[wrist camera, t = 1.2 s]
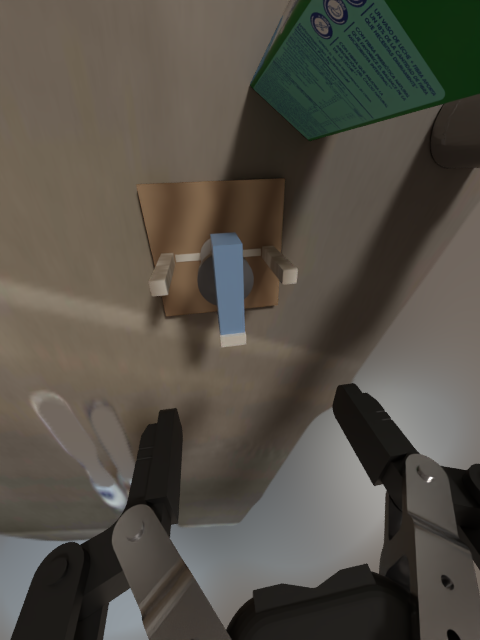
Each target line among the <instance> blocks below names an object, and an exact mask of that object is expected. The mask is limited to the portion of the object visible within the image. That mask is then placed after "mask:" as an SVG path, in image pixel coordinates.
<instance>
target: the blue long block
mask: <svg viewBox="0 0 480 640" xmlns="http://www.w3.org/2000/svg"><path fill="white" fill-rule="evenodd" d="M210 237H211V248H212V253H211V254H209V255H208V256H206V257H205V258H204V259H203V261H202V262H201V264H200V266H199V269H198V275H197V282H198V288H199V291H200V293H201V295H202V296H203V297H204V298H205V299H206V300H207V301H208V302H210V303H211V304H213V305H216V306H217V312H218V323H219V330H220V338H221V347H228V346H236V345H245V344H246V333H245V322H244V299H245V298H246V297H247V296H248V295H249V293H250V292H251V290H252V287H253V283H254V277H253V272H252V269H251V267H250V266H249V264H248V262H247V261H246V259H245V258H244V257H243V244H242V242H241V241H240V239H239V237H238V236H237V234H236V233H235V232H233V233H217V234H210Z"/></svg>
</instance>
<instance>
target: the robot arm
mask: <svg viewBox="0 0 480 640" xmlns="http://www.w3.org/2000/svg"><path fill="white" fill-rule="evenodd" d="M431 153H432V155H433V158H434V160H435V161H436V163H437V164H439V165H440V166H442V167H445V168H480V94H477V95H474V96H470V97H466V98H463V99H459V100H456V101H452V102H448V103H445V104H444V105H443V107H442V109H441V111H440V112H439V114H438V116H437V119H436V121H435V124H434V126H433V131H432V135H431ZM333 412H334V415H335V418H336V419H337V421H338V423H339V424H340V426H341V428H342V430H343V432H344V434H345V435H346V437H347V439H348V441H349V442H350V444H351V446H352V448H353V450H354V451H355V453H356V455H357V457H358V458H359V460H360V462H361V464H362V466H363V467H364V469H365V471H366V473H367V474H368V476H369V478H370V480H371V482H372V483H373V485H374V486H376V485H381V484H383V485H384V486H385V488H386V490H387V491H386V497H385V501H386V502H385V531H384V545H383V549H382V552H381V558H380V566H379V574H378V573H375V572H371V571H370V568H369V566H368V564H363V565H359V566H355V567H350V568H346V569H342V570H340V571H338V572H337V573H336V574H334V575H333V576H331V577H330V578H329V579H327V580H326V581H325V582H323V583H322V584H321V585H319V586H318V587H316V588H308V587H302V586H295V585H288V584H278V585H274V586H270V587H265V588H261V589H257V590H253V598H251V599H250V600H248V601H247V602H246V603H245V604H244V605H243V606H242V607H241V608H240V609H239V610H238V611H237V613H236V614H235V615H234V617H233V618H232V620H231V622H230V623H229V625H228V627H227V629H225V628H224V626H223V624H222V623H221V621H220V619H219V618H218V616H217V615H216V613H215V611H214V610H213V608H212V606H211V605H210V603H209V601H208V600H207V598H206V596H205V595H204V593H203V591H202V590H201V588H200V586H199V585H198V583H197V581H196V580H195V578H194V576H193V575H192V573H191V572H190V570H189V569H188V567H187V566H186V564H185V563H184V561H183V559H182V558H181V556H180V555H179V553H178V551H177V549H176V548H175V546H174V545H173V543H172V541H171V540H170V529H171V525H172V524H178V516H179V498H180V479H181V461H182V442H183V435H182V427H181V423H180V419H179V415H178V411H177V408H173V409H166V410H160V412H159V416H158V422H157V423H155V424H149V425H148V426H147V428H146V429H145V431H144V433H143V434H142V436H141V440H140V445H139V451H138V454H137V461H136V464H135V469H134V474H133V478H132V483H131V488H130V492H129V497H128V501H127V505H126V507H125V509H124V511H123V513H122V515H121V516H120V518H119V519H118V520H117V521H116V522H115V523H114V524H113V525H112V526H111V527H110V528H108V529H107V530H105V531H104V532H102V533H100V534H98V535H97V536H95V537H93V538H91V539H90V540H88V541H86V542H84V543H83V544H81V545H79V544H78V543H75V542H68V543H65V544H62V545H60V546H58V547H57V548H56V549H54V550H53V551H52V552H51V553H49V554H48V555H47V557H46V558H45V559H44V560H43V561H42V563H41V564H40V566H39V567H38V569H37V571H36V572H35V574H34V577H33V579H32V582H31V585H30V587H29V590H28V593H27V596H26V598H25V601H24V604H23V607H22V609H21V612H20V615H19V618H18V621H17V623H16V626H15V629H14V632H13V634H12V638H11V640H103V636H104V629H105V624H106V617H107V611H108V605H109V602H110V601H112V600H113V599H115V598H116V597H118V596H119V595H120V594H122V593H123V592H125V591H126V590H128V589H129V588H131V590H132V592H133V594H134V597H135V599H136V602H137V604H138V606H139V609H140V611H141V614H142V621H143V625H144V628H145V630H146V633H147V636H148V638H149V640H480V595H479V589H478V584H477V579H476V574H475V569H474V564H473V561H474V562H475V563H476V565H477V567H478V568H479V570H480V464H474V465H472V466H471V467H470V468H469V469H468V470H461V469H456V468H450V467H444V466H440V465H439V464H438V463H436V462H435V461H434V460H432V459H430V458H429V457H427V456H424V455H421V454H420V453H419V452H417V450H416V449H415V448H414V447H413V445H412V444H411V443H410V442H409V440H408V439H407V438H406V437H405V435H404V434H403V433H402V431H401V430H400V429H399V428H398V426H397V425H396V424H395V423H394V421H393V420H391V417H390V416H389V415H388V414H387V412H385V411H384V409H383V407H382V406H381V405H380V404H379V402H378V401H377V400H376V399H374V398H373V397H371V396H370V395H369V394H368V393H362V392H361V391H360V389H359V388H358V386H357V385H356V384H354V383H351V384H344V385H339V386H338V387H337V390H336V394H335V398H334V401H333Z"/></svg>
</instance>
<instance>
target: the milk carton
mask: <svg viewBox="0 0 480 640" xmlns="http://www.w3.org/2000/svg"><path fill="white" fill-rule="evenodd" d="M250 86H251V87H252V88H253V89H254V90H255V91H256V92H257V93H258V94H259V95H261V96H262V97H263V98H264V99H265V100H266V101H267V102H268V103H269V104H270V105H271V106H272V107H273V108H274V109H276V110H277V111H278V112H279V113H280V114H281V115H282V116H283V117H284V118H285V119H286V120H287V121H288V122H289V123H291V124H292V125H293V126H294V127H295V128H296V129H297V130H298V131H299V132H300V133H301V134H302V135H303V136H304V137H306V138H307V139H308V140H309V141H312V140H315V139H319V138H322V137H326V136H330V135H333V134H337V133H340V132H344V131H348V130H351V129H355V128H358V127H362V126H366V125H369V124H373V123H376V122H380V121H384V120H387V119H391V118H394V117H398V116H402V115H405V114H409V113H412V112H416V111H420V110H423V109H427V108H430V107H434V106H438V105H441V104H445V103H448V102H452V101H456V100H459V99H463V98H466V97H470V96H474V95H477V94H480V0H290V1H289V3H288V6H287V8H286V10H285V12H284V14H283V16H282V18H281V20H280V22H279V24H278V26H277V29H276V31H275V33H274V35H273V37H272V39H271V41H270V43H269V45H268V47H267V49H266V52H265V54H264V56H263V58H262V60H261V62H260V64H259V66H258V68H257V70H256V72H255V75H254V77H253V79H252V81H251V83H250Z"/></svg>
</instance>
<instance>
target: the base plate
mask: <svg viewBox="0 0 480 640" xmlns="http://www.w3.org/2000/svg"><path fill="white" fill-rule="evenodd" d="M136 186H137V190H138V194H139V199H140V203H141V208H142V212H143V216H144V221H145V225H146V230H147V234H148V239H149V243H150V247H151V252H152V256H153V261H154V265H155V269H154V271H153V273H152V275H151V278H150V280H149V286H150V290H151V294H152V296H162V300H163V305H164V309H165V314H166V316H176V315H185V314H195V313H205V312H215V311H217V306H216V305H213V304H211V303H210V302H208V301H207V300H206V299H205V298H204V297H203V296H202V295H201V293H200V291H199V288H198V282H197V275H198V269H199V266H200V264H201V262H202V261H203V259H204V258H205V257H206V256H208V255H209V254H211V253H212V248H211V237H210V234H217V233H233V232H235V233H236V234H237V236H238V237H239V239H240V241H241V242H242V244H243V257H244V258H245V259H246V261H247V262H248V264H249V266H250V267H251V269H252V272H253V277H254V283H253V287H252V290H251V292H250V293H249V295H248V296H247V297H246V298H245V299H244V308H254V307H264V306H274V305H278V292H279V281H280V282H281V283H282V284H293V283H297V273H298V269H297V268H296V267H295V266H294V265H293V264H292V263H291V262H290V261H289V260H288V259H287V258H286V257H285V256H283V255H282V254H281V241H282V224H283V207H284V190H285V178H278V179H254V180H230V181H205V182H181V183H157V184H137V185H136Z"/></svg>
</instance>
